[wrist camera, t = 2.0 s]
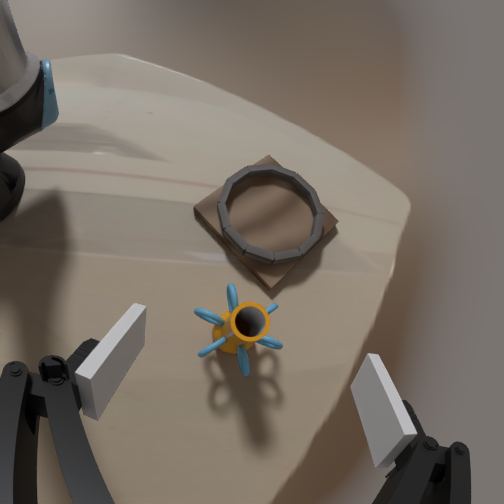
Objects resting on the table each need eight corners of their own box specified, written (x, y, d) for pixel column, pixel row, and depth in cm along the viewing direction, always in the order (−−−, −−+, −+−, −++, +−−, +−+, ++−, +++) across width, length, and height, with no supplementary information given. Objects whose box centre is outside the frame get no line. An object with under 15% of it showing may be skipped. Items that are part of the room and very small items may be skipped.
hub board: (193, 210, 48) (193, 200, 45) (267, 159, 55) (271, 148, 52) (269, 290, 46) (274, 284, 43) (335, 224, 53) (343, 216, 50)
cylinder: (180, 348, 40) (172, 344, 27) (208, 286, 45) (215, 252, 31) (256, 381, 41) (286, 391, 27) (281, 318, 45) (319, 299, 31)
